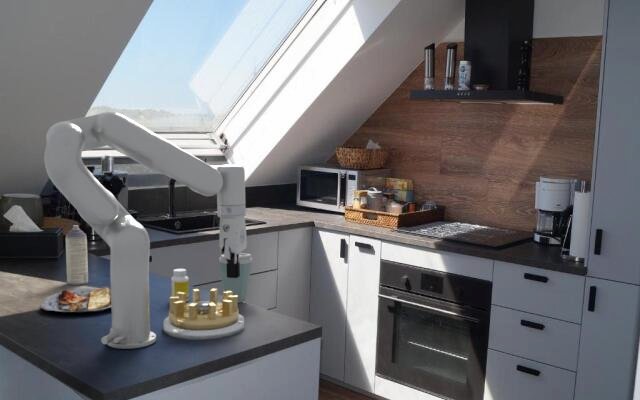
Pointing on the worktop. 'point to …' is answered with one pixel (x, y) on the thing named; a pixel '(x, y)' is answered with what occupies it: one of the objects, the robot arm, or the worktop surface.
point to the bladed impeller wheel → (203, 311)
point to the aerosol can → (76, 257)
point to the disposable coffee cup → (240, 283)
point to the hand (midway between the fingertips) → (233, 277)
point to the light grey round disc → (203, 331)
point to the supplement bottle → (180, 283)
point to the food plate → (79, 300)
